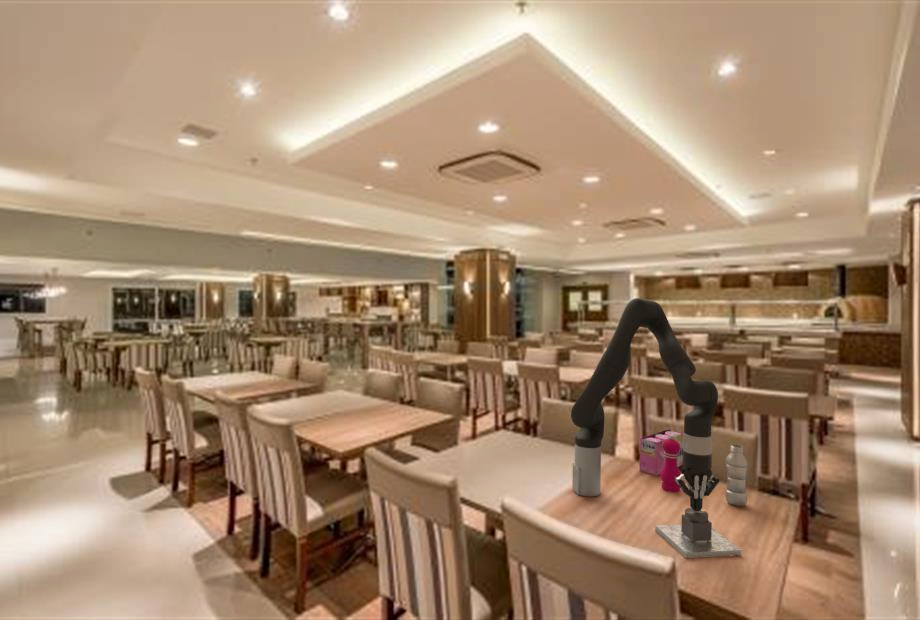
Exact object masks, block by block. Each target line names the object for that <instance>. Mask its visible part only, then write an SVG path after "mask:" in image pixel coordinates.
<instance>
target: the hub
mask: <svg viewBox="0 0 920 620" xmlns="http://www.w3.org/2000/svg"><path fill="white" fill-rule="evenodd" d="M681 526H682V523H681V524H679V523H677V524H658V525H657V524H656V525H655V526H654V528H655V530H654V531H655V532H656V533H657V534H659V536H661V537H662V538H663V539H664V540H666V541H665V542H668V543H669V544H670V545H671V546H672V547H673V548H674V549H675V550H676V551H677V552H678V553H679V554H680V555H682V556H683V557H684V559H699V558H698V557H703V558H717V557H716V556H722V557H731V556H730V555H741V556H742V549H741V548H739V547H738V546H736V545H735V544H734V543H733V542H732V541H730V540H728V539H727V538H726V537H725V536H723V535H722V534H720V533H719V532H718V531H716V530H715V529H713V528H712V537H711V540H709V541H692V540H691V539H689V538H688V537H687V536H686V535H685V534H683V533H682V532H681Z"/></svg>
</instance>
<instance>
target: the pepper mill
mask: <svg viewBox="0 0 920 620" xmlns="http://www.w3.org/2000/svg"><path fill="white" fill-rule="evenodd" d="M663 449H664V450H665V451H664V456H665V465H664V467H663V469H662V471H661V474H659V475H660V480H661V481H662V482H661V489H663V491H665V492H669V493H678V492H680V491H681V488H680V487H679V485H678V484H677V483H676V481H675V480H674V478H675V477H679V476H680V475H681V474H682V472H680V469H679V467H678V466H677V458H678V457H679V456H678V455H679V454H678V452H679V450H680V444H679V443H678V442H677V441H676V440H674V436H673V435H670V436H669V439H667V440H665V441H664V442H663Z"/></svg>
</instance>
